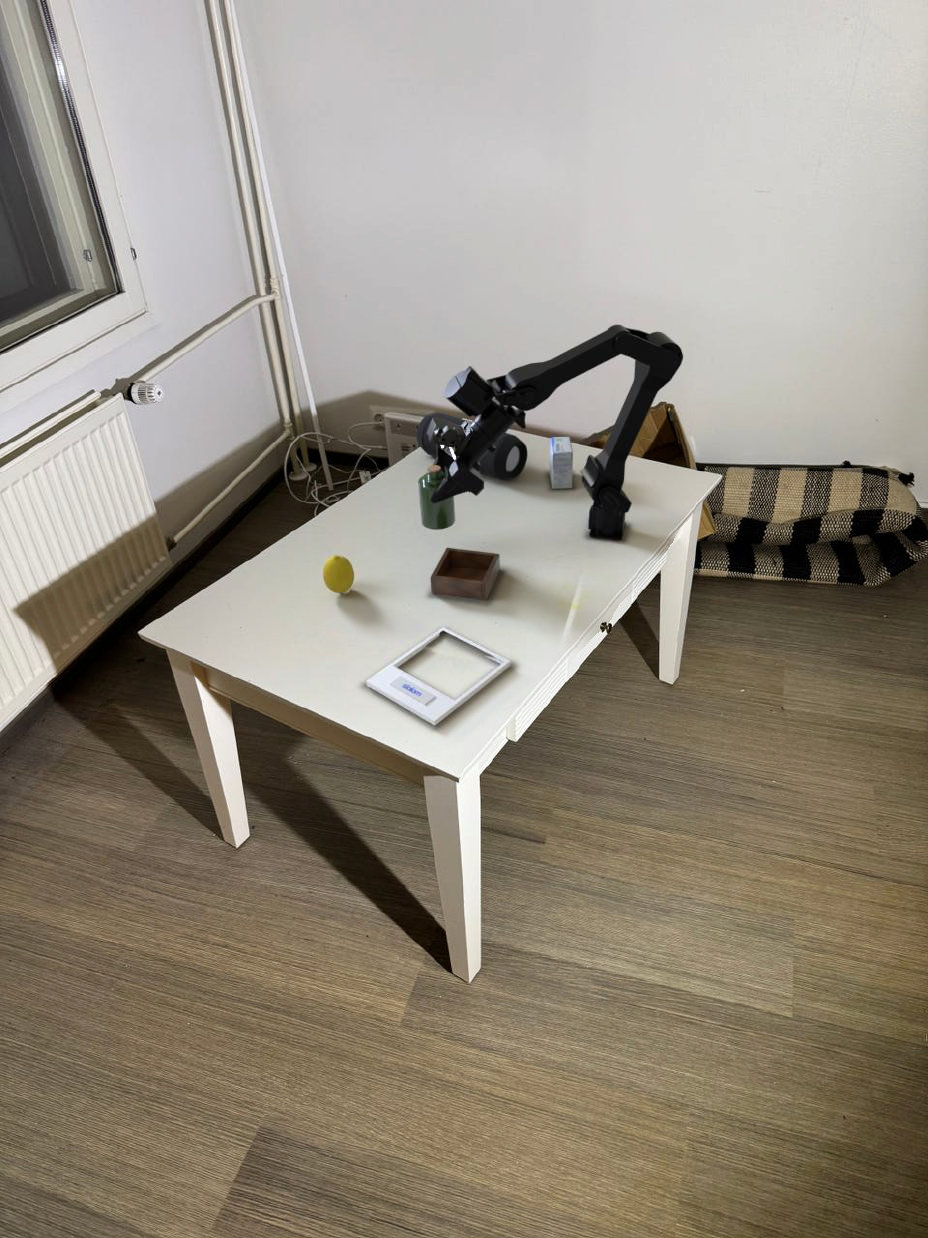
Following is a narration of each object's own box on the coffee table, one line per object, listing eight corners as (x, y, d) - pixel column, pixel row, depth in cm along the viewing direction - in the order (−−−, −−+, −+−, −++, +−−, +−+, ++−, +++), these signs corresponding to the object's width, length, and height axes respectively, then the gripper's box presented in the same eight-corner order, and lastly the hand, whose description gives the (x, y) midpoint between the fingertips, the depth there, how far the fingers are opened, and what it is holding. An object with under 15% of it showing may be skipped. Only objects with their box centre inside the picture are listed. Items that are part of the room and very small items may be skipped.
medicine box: (572, 489, 188) (573, 452, 183) (551, 489, 188) (552, 452, 183) (569, 472, 194) (570, 436, 189) (549, 472, 195) (550, 436, 189)
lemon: (351, 603, 157) (346, 565, 152) (321, 600, 158) (315, 563, 153) (360, 585, 161) (355, 548, 156) (331, 583, 162) (326, 546, 157)
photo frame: (366, 680, 138) (442, 626, 148) (366, 685, 138) (443, 631, 149) (434, 720, 130) (510, 660, 140) (434, 725, 130) (510, 665, 141)
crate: (499, 571, 163) (499, 553, 161) (486, 602, 155) (485, 584, 153) (447, 565, 166) (446, 547, 163) (431, 595, 158) (430, 577, 155)
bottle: (461, 518, 165) (459, 464, 159) (441, 533, 161) (437, 479, 155) (435, 509, 168) (431, 456, 162) (414, 523, 164) (409, 470, 158)
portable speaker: (415, 459, 202) (412, 418, 196) (443, 443, 208) (441, 404, 202) (502, 489, 189) (502, 447, 183) (529, 472, 195) (530, 431, 189)
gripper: (443, 383, 159) (389, 447, 164) (462, 425, 144) (402, 493, 150) (486, 419, 165) (433, 479, 170) (509, 462, 150) (450, 526, 155)
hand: (428, 493), depth 161 cm, fingers closed on bottle, 6 cm apart
